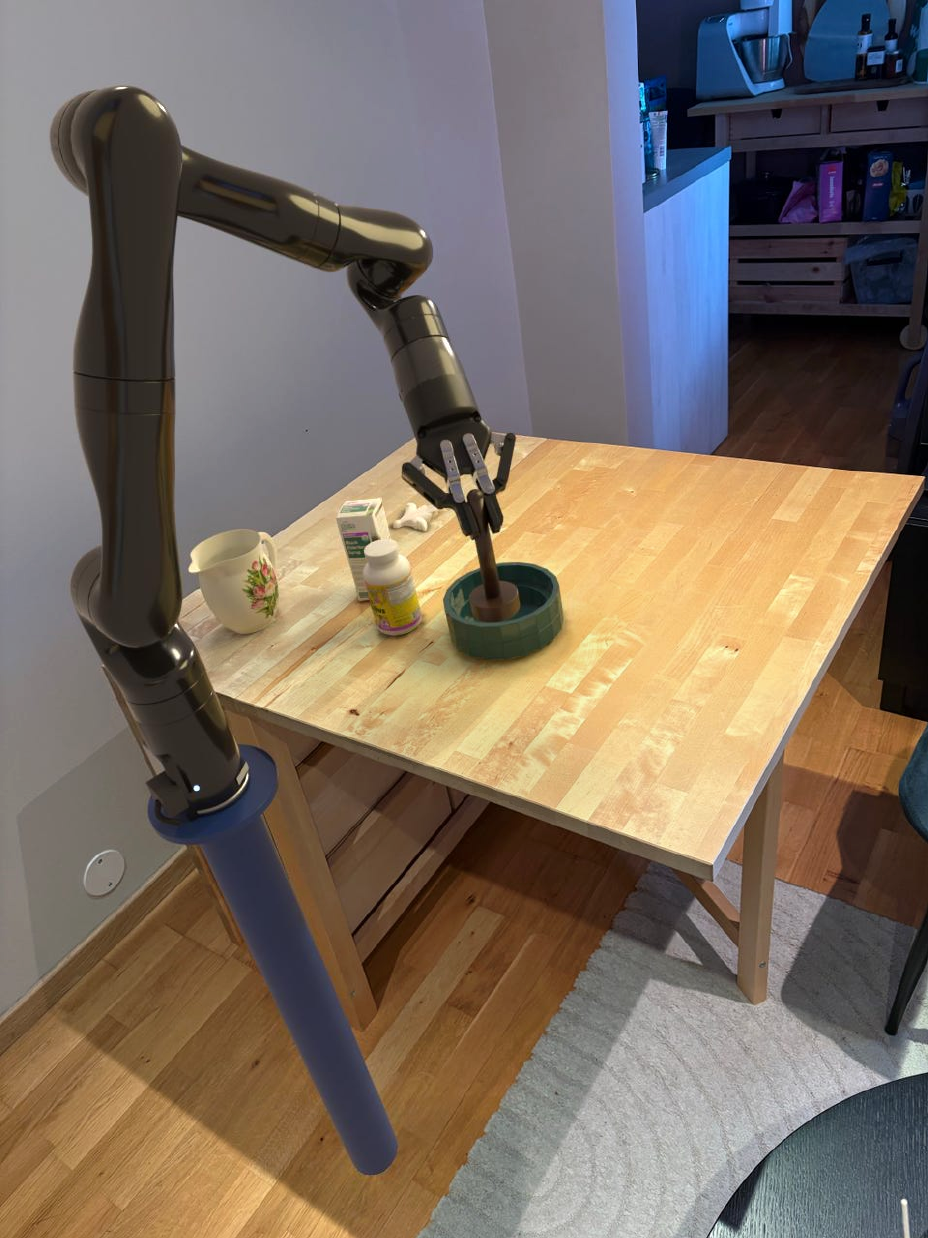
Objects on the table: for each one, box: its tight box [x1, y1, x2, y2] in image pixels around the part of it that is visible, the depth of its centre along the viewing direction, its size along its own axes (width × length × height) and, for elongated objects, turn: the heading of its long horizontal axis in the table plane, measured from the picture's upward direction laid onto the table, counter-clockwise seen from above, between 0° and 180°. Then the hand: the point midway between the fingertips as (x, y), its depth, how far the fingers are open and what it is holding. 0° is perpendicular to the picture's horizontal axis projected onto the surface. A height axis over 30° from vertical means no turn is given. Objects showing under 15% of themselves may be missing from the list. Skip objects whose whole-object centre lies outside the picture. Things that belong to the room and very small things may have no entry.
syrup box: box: [335, 497, 392, 602], centre depth 137 cm, size 6×6×14 cm
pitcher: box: [187, 528, 280, 635], centre depth 137 cm, size 11×18×14 cm, turn 158°
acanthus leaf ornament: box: [392, 502, 439, 532], centre depth 158 cm, size 8×7×2 cm
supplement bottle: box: [363, 538, 423, 636], centre depth 129 cm, size 7×7×13 cm
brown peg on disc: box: [466, 488, 520, 623], centre depth 101 cm, size 6×6×15 cm
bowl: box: [442, 561, 565, 661], centre depth 125 cm, size 16×16×6 cm
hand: (486, 533), depth 97 cm, fingers closed on brown peg on disc
